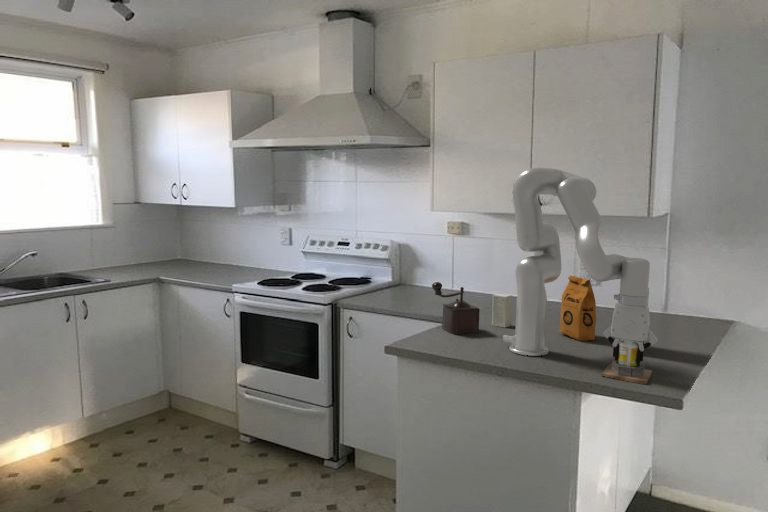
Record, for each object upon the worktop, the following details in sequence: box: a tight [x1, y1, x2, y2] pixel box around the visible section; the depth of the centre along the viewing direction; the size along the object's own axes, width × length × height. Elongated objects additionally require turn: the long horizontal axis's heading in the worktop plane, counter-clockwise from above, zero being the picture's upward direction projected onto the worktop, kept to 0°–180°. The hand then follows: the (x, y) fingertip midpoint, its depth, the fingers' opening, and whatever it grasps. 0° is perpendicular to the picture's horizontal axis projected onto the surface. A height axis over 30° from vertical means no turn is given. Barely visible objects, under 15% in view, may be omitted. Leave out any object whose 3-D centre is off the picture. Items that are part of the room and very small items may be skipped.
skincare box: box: [491, 293, 512, 328], centre depth 238 cm, size 6×4×12 cm
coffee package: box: [559, 275, 597, 342], centre depth 223 cm, size 10×12×22 cm
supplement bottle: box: [618, 340, 639, 367], centre depth 181 cm, size 5×5×10 cm
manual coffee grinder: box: [431, 281, 480, 336], centre depth 228 cm, size 16×11×18 cm
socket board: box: [601, 359, 653, 386], centre depth 181 cm, size 12×12×4 cm
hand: (627, 360), depth 181 cm, fingers open, 5 cm apart
